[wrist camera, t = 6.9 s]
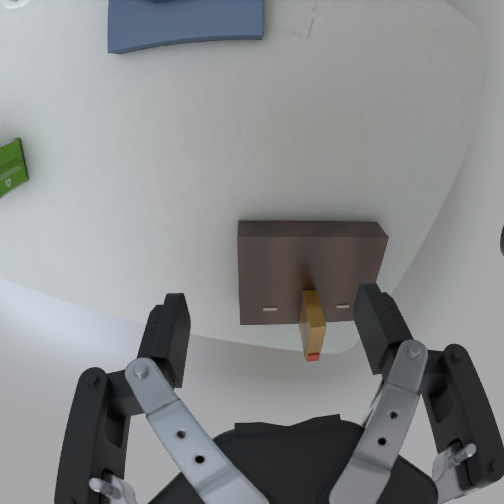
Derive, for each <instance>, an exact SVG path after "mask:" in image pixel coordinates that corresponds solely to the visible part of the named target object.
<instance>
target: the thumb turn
mask: <svg viewBox="0 0 504 504" xmlns="http://www.w3.org/2000/svg"><path fill="white" fill-rule="evenodd" d="M299 327H300V333H301V338H302V344H303V350H304V356H305V360H307V361H318V359H319V356H320V352H321V348H322V344H323V339H324V335H325V330H326V323H325V320H324V316H323V312H322V308H321V305H320V301H319V297H318V294H317V290H303V294H302V303H301V312H300V320H299Z"/></svg>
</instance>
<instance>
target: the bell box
mask: <svg viewBox="0 0 504 504" xmlns="http://www.w3.org/2000/svg"><path fill="white" fill-rule="evenodd" d="M262 37H263V0H109V6H108V53H113V54H122V53H126V52H131V51H136V50H141V49H147V48H152V47H159V46H165V45H173V44H181V43H190V42H200V41H215V40H244V39H254V40H261V39H262Z"/></svg>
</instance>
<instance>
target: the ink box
mask: <svg viewBox="0 0 504 504" xmlns="http://www.w3.org/2000/svg"><path fill="white" fill-rule="evenodd" d="M26 181H28V178H27V174H26V170H25V165H24V160H23V155H22V150H21V144H20V140H19V138H16V139H13V140H11V141H8V142H6V143H3V144H1V145H0V199H1V198H2V197H4V196H5V195H7V194H8V193H10V192H11V191H13V190H14V189H16V188H17V187H19V186H20V185H22V184H23V183H25V182H26Z"/></svg>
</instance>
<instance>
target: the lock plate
mask: <svg viewBox="0 0 504 504" xmlns="http://www.w3.org/2000/svg"><path fill="white" fill-rule="evenodd" d="M387 241H388V236H387V235H386V233H385V232H384V231H383V229H382V228H381V227H380V225H379V224H378V223H377V222H344V221H238V272H239V303H240V325H268V324H299V320H300V312H301V303H302V294H303V290H317V294H318V297H319V301H320V305H321V308H322V312H323V316H324V320H325V322H339V321H353V320H354V317H353V307H354V303H355V299H356V295H357V291H358V287H359V285H360V284H363V283H374V282H376V279H377V276H378V273H379V269H380V266H381V263H382V259H383V256H384V252H385V249H386V245H387Z"/></svg>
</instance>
